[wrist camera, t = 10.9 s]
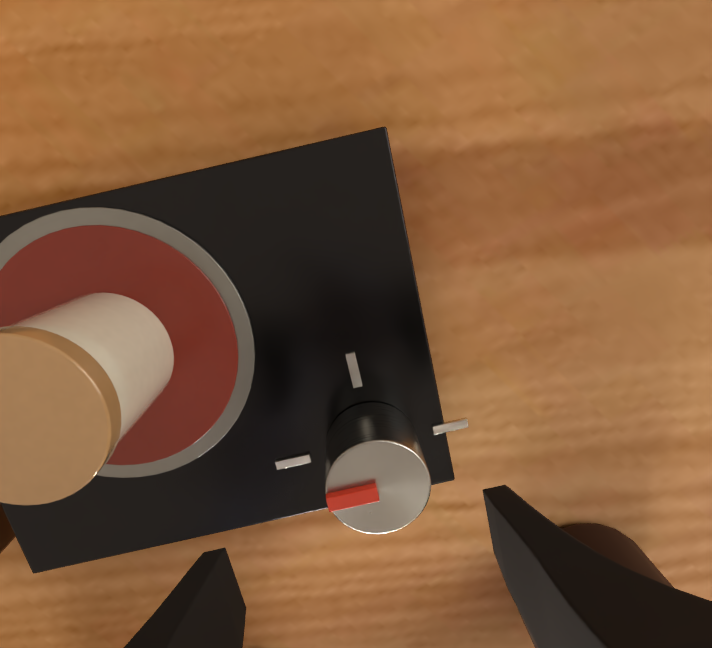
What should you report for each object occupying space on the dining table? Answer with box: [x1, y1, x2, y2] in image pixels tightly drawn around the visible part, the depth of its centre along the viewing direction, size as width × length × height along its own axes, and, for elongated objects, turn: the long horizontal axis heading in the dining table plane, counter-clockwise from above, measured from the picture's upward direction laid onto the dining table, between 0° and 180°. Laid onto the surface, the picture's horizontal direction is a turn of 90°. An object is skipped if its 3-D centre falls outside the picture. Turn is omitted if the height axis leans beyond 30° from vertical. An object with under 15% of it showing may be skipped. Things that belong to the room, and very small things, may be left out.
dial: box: [325, 402, 431, 534], centre depth 18 cm, size 4×4×4 cm
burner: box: [0, 207, 255, 478], centre depth 19 cm, size 10×10×1 cm
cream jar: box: [0, 293, 174, 505], centre depth 16 cm, size 5×5×6 cm
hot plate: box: [0, 127, 468, 573], centre depth 21 cm, size 19×15×3 cm
